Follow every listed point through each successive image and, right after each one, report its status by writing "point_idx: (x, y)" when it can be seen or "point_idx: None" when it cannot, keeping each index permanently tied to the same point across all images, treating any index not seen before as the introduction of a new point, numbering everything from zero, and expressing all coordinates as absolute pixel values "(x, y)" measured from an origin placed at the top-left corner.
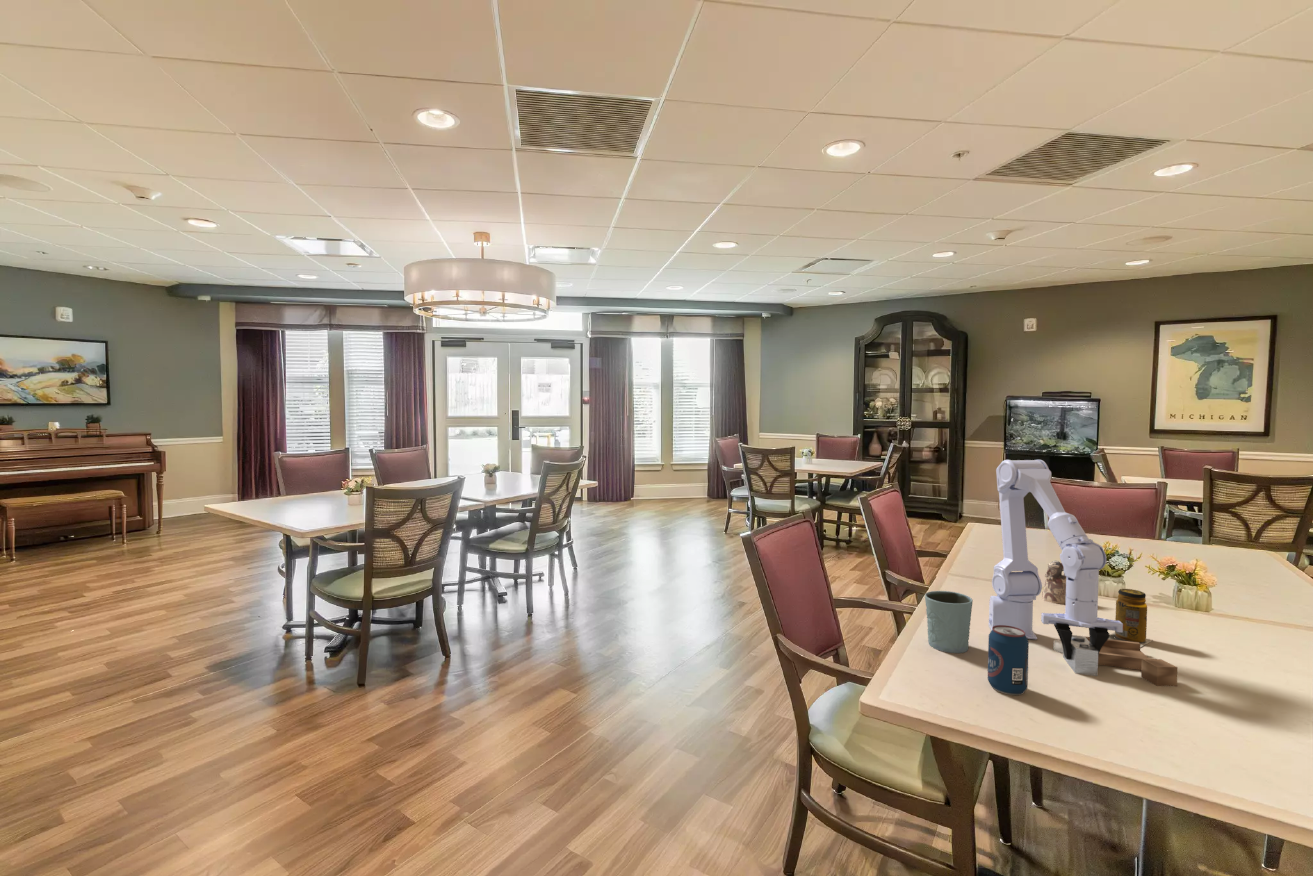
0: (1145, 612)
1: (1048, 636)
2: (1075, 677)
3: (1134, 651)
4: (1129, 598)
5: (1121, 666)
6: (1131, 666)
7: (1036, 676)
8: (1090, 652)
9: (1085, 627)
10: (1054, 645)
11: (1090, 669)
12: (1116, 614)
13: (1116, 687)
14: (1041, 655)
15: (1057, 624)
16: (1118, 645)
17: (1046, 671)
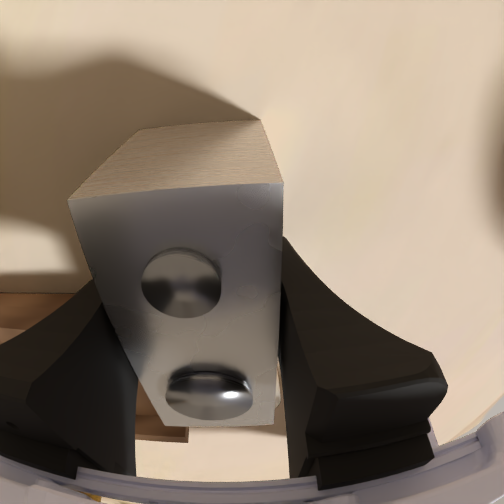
0: None
1: (260, 434)
2: (275, 50)
3: None
4: None
5: (48, 296)
6: (21, 300)
7: (473, 22)
8: (138, 182)
9: (149, 479)
10: (278, 385)
11: (169, 134)
12: (97, 497)
13: (76, 10)
14: (354, 305)
15: (428, 451)
16: None
17: (415, 97)
